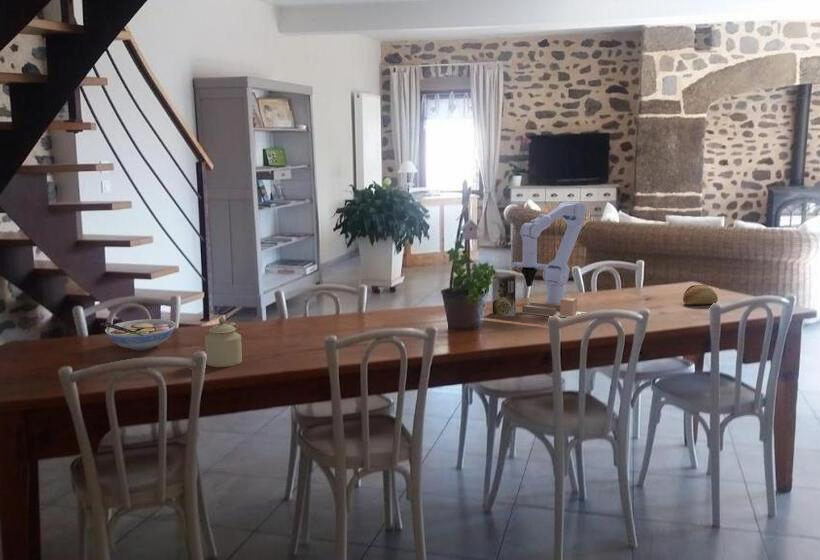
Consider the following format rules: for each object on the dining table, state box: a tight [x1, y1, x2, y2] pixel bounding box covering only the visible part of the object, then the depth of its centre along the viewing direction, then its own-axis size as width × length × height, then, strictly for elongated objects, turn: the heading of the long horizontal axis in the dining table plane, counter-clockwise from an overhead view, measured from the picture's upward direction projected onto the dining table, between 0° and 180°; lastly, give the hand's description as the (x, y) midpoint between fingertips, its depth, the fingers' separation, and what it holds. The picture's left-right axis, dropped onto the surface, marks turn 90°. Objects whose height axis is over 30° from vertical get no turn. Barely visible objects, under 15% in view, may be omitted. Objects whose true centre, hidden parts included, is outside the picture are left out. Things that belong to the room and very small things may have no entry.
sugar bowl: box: [204, 315, 243, 368], centre depth 238 cm, size 15×11×15 cm
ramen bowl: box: [99, 318, 177, 351], centre depth 256 cm, size 25×23×8 cm
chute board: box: [521, 301, 586, 318], centre depth 296 cm, size 12×24×4 cm, turn 59°
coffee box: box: [491, 274, 517, 317], centre depth 294 cm, size 9×6×16 cm
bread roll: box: [682, 284, 719, 306], centre depth 313 cm, size 10×15×8 cm, turn 103°
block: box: [560, 297, 578, 316], centre depth 293 cm, size 4×5×6 cm
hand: (529, 286), depth 305 cm, fingers closed
